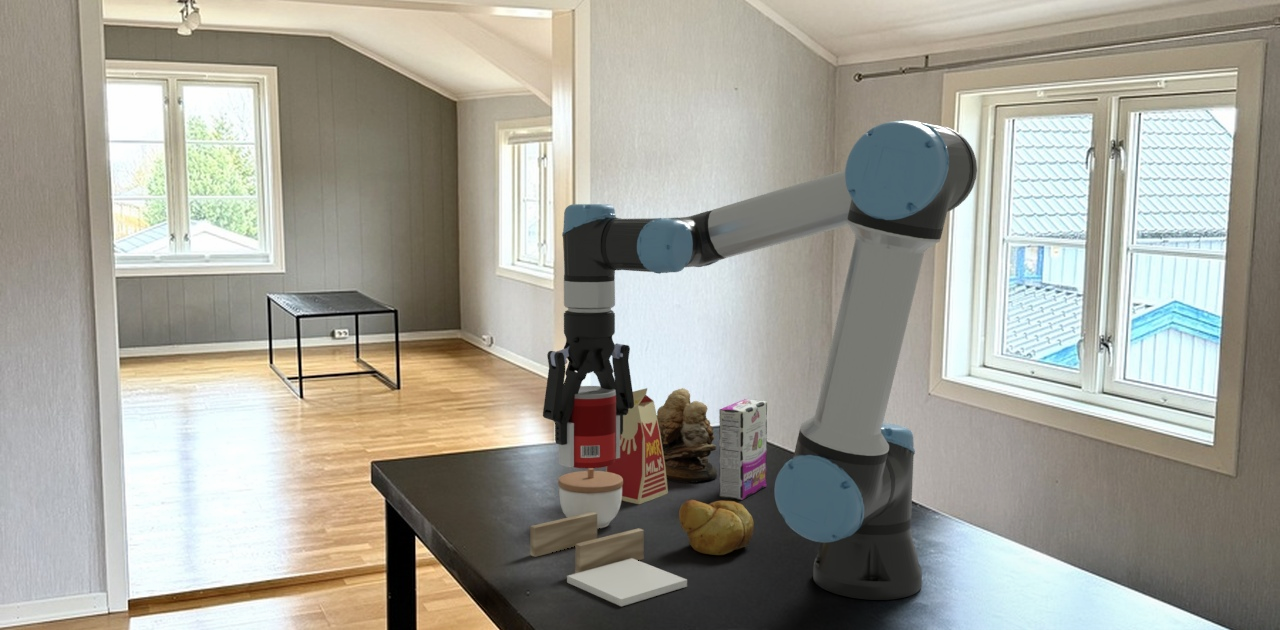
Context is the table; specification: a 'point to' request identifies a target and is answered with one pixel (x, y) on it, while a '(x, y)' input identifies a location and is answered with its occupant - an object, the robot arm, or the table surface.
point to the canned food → (594, 427)
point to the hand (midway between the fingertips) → (589, 460)
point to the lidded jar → (591, 494)
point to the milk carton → (641, 453)
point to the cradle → (586, 542)
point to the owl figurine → (686, 438)
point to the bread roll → (716, 526)
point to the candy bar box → (743, 448)
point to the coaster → (626, 581)
